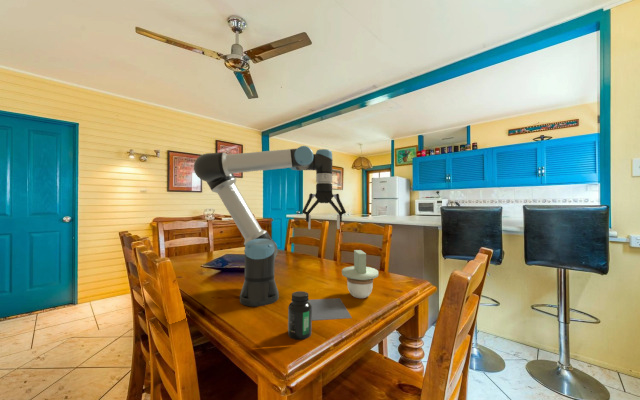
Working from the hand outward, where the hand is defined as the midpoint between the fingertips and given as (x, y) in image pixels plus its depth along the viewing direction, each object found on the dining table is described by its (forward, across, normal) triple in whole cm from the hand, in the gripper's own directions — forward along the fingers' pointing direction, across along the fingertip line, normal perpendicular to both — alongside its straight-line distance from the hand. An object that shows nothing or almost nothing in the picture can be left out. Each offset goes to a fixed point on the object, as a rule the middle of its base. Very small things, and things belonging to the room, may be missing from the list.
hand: (323, 229), depth 119 cm
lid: (+17, +13, -14) cm, 26 cm away
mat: (+27, -5, -25) cm, 37 cm away
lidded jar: (+27, +13, -14) cm, 33 cm away
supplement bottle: (+27, -14, -42) cm, 52 cm away
